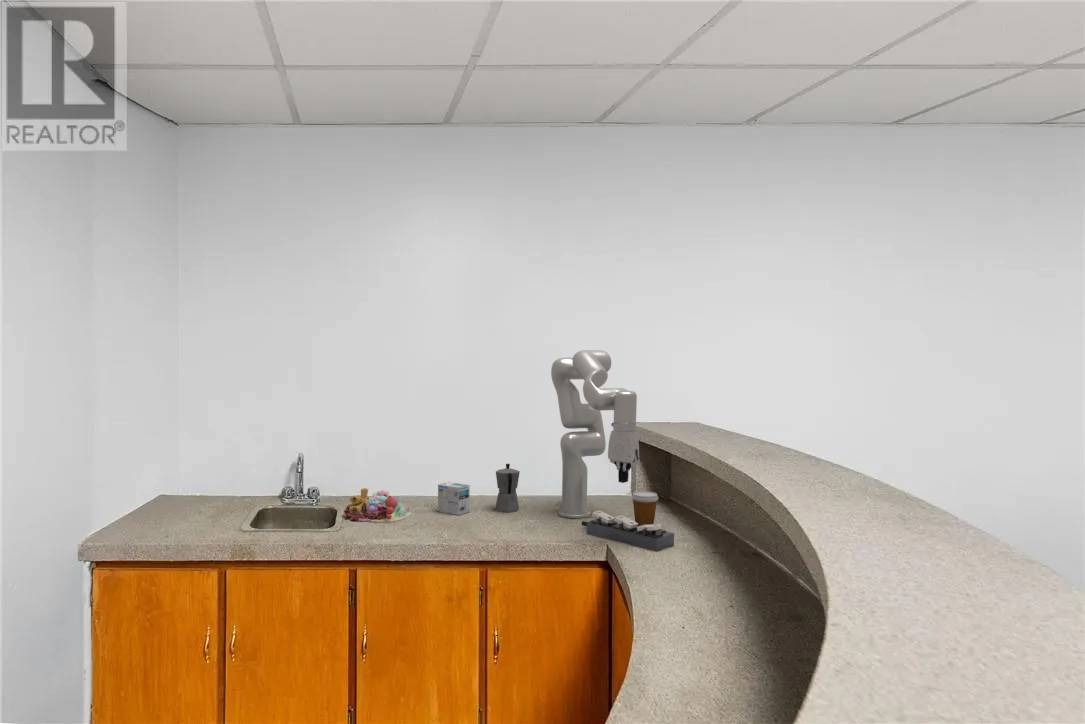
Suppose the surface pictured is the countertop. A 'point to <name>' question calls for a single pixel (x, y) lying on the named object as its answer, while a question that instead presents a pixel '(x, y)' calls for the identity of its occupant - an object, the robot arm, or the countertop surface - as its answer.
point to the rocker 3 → (649, 527)
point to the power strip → (630, 534)
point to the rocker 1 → (603, 516)
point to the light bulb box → (453, 498)
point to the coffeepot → (507, 489)
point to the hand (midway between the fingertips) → (623, 481)
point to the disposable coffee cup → (644, 507)
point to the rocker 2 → (626, 522)
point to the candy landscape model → (376, 508)
